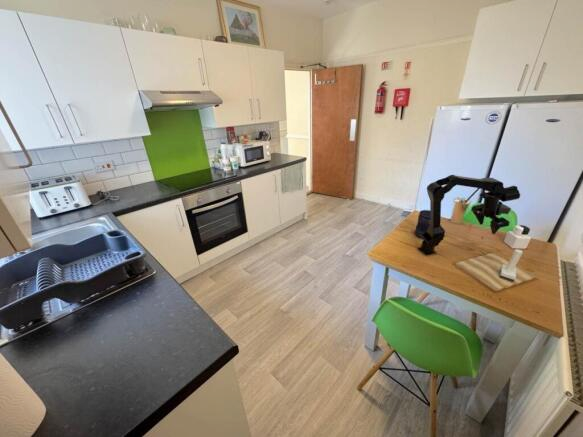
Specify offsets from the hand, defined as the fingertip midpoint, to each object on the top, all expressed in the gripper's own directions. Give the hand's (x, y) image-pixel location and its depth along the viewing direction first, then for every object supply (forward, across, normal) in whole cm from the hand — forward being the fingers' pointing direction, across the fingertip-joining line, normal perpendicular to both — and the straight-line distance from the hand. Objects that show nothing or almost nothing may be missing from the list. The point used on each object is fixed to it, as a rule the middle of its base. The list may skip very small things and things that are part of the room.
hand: (487, 229), depth 124 cm
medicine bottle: (+20, +4, -19) cm, 28 cm away
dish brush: (+11, -22, +5) cm, 25 cm away
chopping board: (+12, -17, +7) cm, 22 cm away
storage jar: (+9, +17, +25) cm, 31 cm away
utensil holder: (+18, +33, -5) cm, 38 cm away
